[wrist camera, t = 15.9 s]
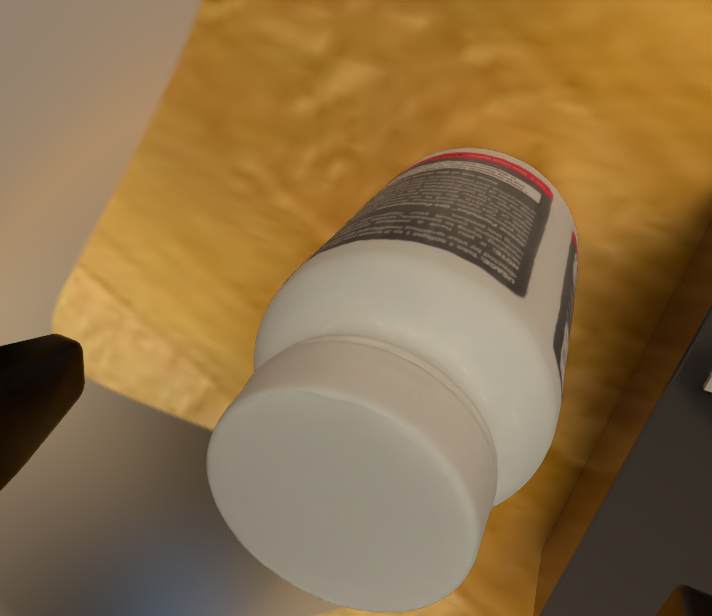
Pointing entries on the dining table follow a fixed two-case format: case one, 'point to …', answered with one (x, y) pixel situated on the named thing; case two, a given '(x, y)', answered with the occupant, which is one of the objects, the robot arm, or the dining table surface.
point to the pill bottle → (403, 384)
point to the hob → (645, 477)
